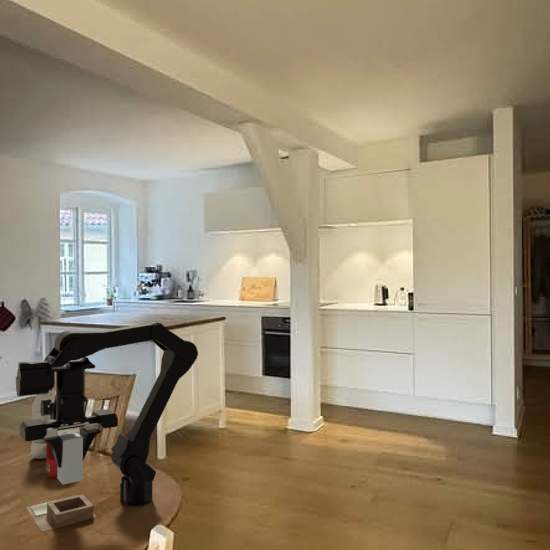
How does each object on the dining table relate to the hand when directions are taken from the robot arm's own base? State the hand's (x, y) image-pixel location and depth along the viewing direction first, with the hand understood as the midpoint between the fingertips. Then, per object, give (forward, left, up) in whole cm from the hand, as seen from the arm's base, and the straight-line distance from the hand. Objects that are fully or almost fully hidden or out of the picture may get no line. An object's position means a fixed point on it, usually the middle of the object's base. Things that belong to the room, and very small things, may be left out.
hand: (70, 465), depth 112 cm
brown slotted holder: (+3, -1, -12) cm, 12 cm away
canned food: (+22, -20, -12) cm, 32 cm away
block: (0, 0, -3) cm, 3 cm away
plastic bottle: (+36, -27, -12) cm, 47 cm away
